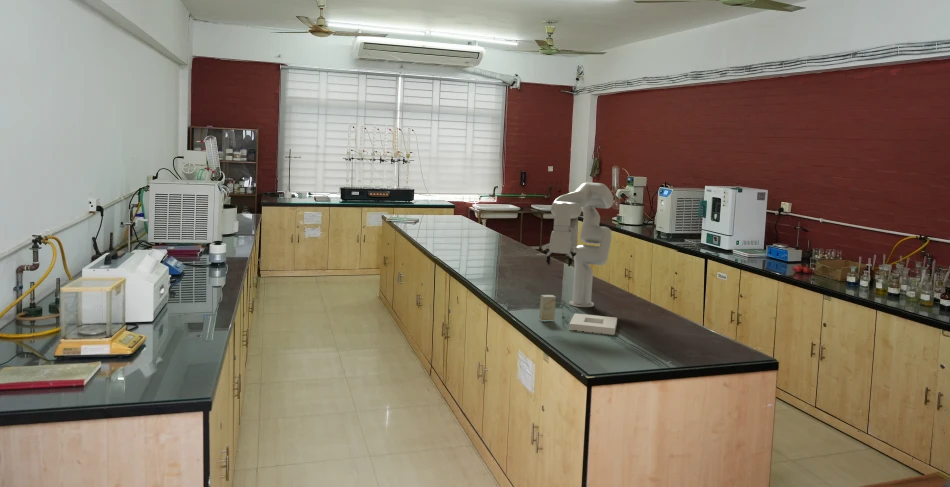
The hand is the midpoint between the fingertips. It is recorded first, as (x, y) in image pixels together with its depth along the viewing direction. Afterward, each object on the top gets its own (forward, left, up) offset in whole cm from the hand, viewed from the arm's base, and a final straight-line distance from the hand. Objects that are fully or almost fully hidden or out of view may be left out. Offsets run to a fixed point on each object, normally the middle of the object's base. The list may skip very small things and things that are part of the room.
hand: (558, 265), depth 321 cm
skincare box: (+4, -4, -27) cm, 27 cm away
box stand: (+6, +18, -26) cm, 33 cm away
